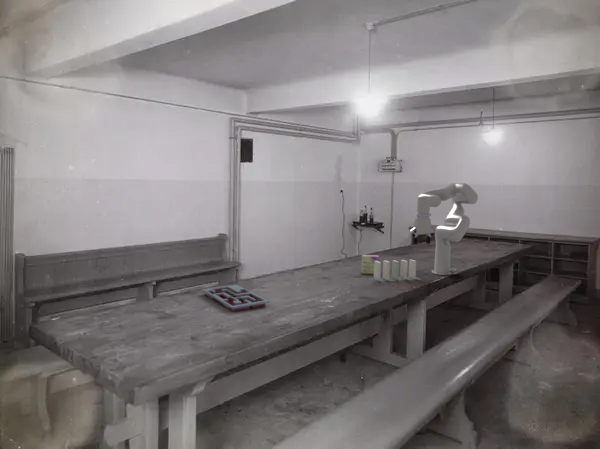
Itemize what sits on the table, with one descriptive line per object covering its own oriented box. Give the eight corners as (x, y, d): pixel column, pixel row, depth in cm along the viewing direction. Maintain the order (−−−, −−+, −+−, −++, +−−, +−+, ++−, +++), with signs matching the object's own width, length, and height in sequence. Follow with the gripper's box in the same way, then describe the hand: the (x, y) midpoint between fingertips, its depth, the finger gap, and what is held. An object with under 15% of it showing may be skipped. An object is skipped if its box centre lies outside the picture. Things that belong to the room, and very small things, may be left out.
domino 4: (402, 277, 286) (403, 259, 285) (406, 279, 281) (407, 261, 280) (399, 277, 286) (400, 259, 284) (404, 279, 281) (405, 261, 279)
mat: (413, 276, 291) (413, 275, 291) (421, 280, 282) (422, 279, 282) (367, 278, 282) (367, 277, 282) (374, 282, 272) (374, 281, 272)
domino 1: (376, 278, 281) (377, 260, 279) (380, 280, 276) (381, 262, 275) (373, 278, 280) (374, 260, 279) (377, 280, 275) (378, 262, 274)
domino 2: (385, 278, 283) (386, 260, 281) (389, 280, 278) (390, 262, 276) (382, 278, 282) (383, 260, 281) (386, 280, 277) (387, 262, 276)
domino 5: (411, 276, 288) (412, 259, 286) (415, 278, 283) (416, 261, 282) (408, 276, 287) (409, 259, 286) (412, 278, 283) (413, 261, 281)
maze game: (269, 307, 221) (269, 301, 221) (232, 313, 210) (232, 307, 210) (236, 290, 250) (236, 284, 249) (202, 295, 239) (202, 289, 238)
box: (377, 272, 299) (378, 255, 297) (378, 275, 293) (378, 256, 292) (361, 272, 300) (362, 254, 298) (361, 274, 294) (362, 256, 293)
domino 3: (393, 277, 284) (394, 260, 283) (397, 279, 280) (398, 261, 278) (391, 277, 284) (392, 260, 282) (395, 279, 279) (396, 261, 278)
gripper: (432, 214, 288) (430, 242, 290) (407, 215, 283) (405, 243, 285) (438, 216, 281) (437, 244, 283) (413, 216, 276) (412, 245, 278)
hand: (421, 243), depth 284 cm, fingers open, 8 cm apart
